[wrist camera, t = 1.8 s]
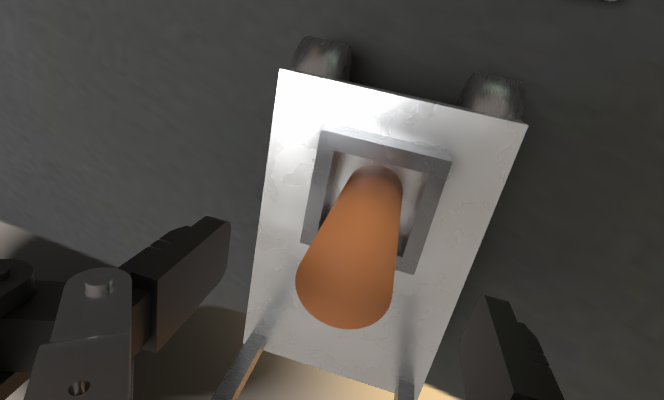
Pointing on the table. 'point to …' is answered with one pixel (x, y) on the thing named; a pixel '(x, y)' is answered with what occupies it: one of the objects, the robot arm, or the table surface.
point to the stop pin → (354, 252)
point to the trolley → (415, 222)
